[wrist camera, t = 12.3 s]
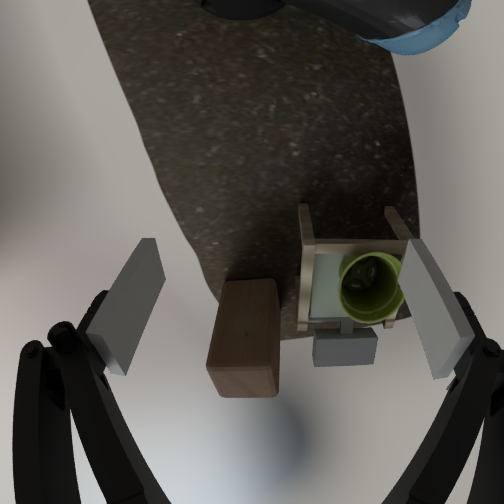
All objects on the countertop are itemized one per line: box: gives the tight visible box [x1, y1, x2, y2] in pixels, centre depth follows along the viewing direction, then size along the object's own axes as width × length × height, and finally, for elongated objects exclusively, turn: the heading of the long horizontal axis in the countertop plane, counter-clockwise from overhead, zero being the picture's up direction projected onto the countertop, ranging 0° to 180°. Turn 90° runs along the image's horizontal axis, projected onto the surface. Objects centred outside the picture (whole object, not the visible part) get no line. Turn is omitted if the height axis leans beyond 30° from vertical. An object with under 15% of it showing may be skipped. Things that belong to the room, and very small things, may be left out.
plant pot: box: [338, 252, 405, 323], centre depth 40 cm, size 9×9×9 cm
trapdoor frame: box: [295, 204, 414, 331], centre depth 47 cm, size 16×16×12 cm
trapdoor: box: [309, 254, 383, 367], centre depth 46 cm, size 20×12×4 cm, turn 2°
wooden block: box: [206, 278, 280, 398], centre depth 52 cm, size 10×10×20 cm
